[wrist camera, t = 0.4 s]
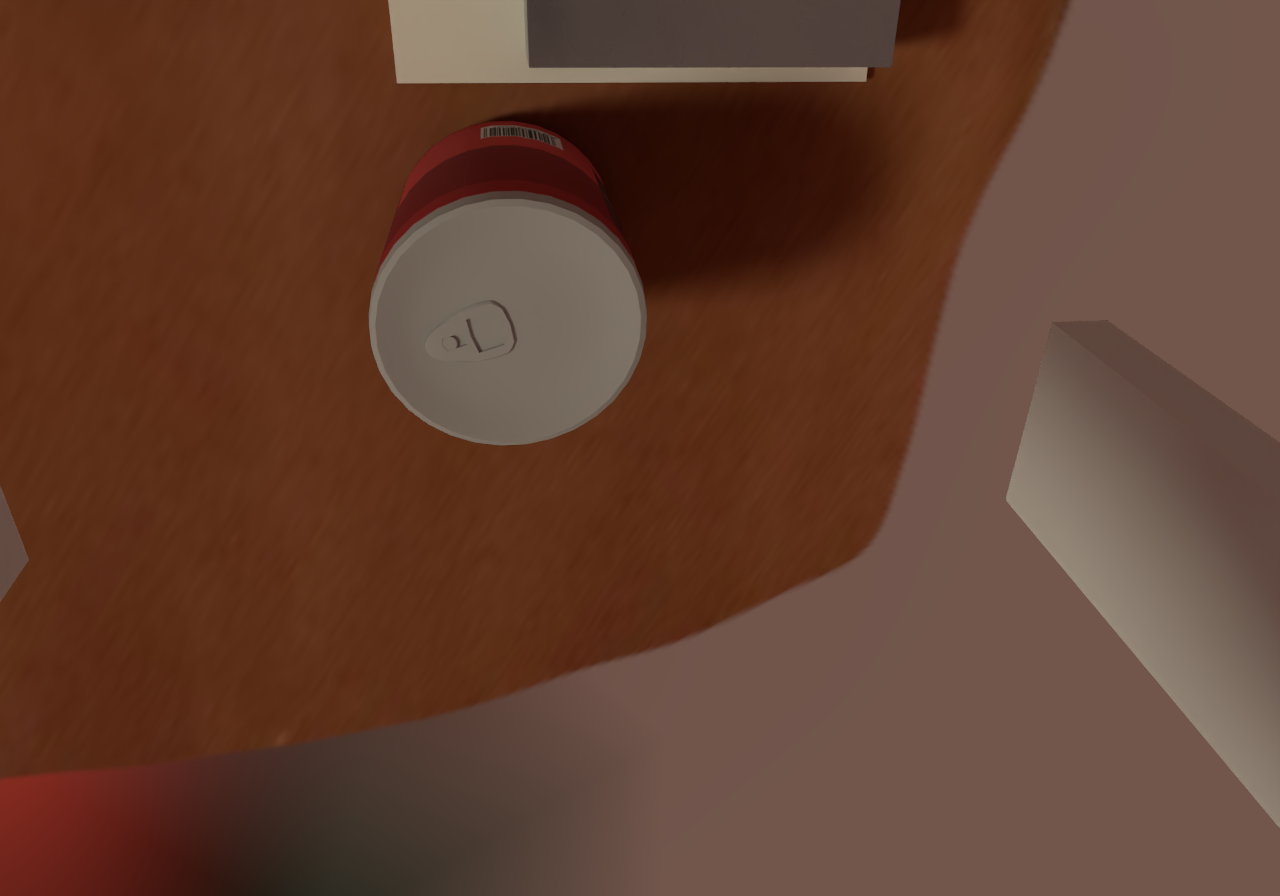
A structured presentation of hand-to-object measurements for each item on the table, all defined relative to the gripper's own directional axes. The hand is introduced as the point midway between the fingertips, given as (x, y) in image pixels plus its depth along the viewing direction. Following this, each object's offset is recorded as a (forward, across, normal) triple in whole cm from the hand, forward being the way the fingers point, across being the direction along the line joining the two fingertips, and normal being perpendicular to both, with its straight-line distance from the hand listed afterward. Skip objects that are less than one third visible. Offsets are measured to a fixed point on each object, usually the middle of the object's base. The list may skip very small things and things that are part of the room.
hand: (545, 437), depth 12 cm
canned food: (+26, 0, -5) cm, 26 cm away
